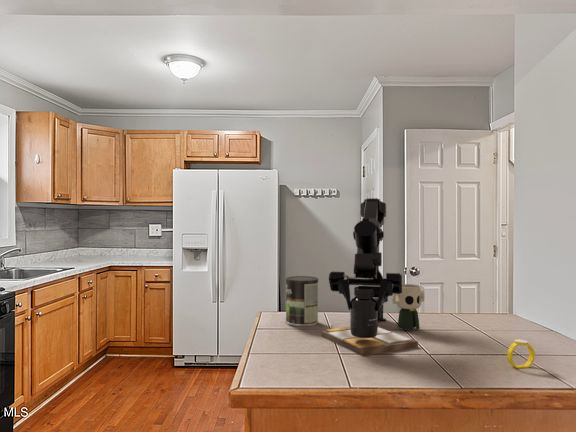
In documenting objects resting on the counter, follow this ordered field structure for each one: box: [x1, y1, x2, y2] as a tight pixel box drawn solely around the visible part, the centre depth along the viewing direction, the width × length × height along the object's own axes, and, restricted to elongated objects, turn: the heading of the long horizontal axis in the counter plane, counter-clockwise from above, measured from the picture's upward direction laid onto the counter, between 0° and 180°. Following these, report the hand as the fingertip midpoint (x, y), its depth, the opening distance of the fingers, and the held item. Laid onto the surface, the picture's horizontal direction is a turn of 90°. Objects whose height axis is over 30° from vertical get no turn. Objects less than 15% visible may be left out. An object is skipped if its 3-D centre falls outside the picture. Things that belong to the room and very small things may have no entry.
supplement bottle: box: [349, 286, 379, 338], centre depth 115 cm, size 7×7×12 cm
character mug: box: [391, 283, 425, 331], centre depth 134 cm, size 11×7×13 cm, turn 109°
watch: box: [506, 338, 536, 369], centre depth 100 cm, size 6×3×6 cm, turn 101°
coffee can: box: [285, 275, 319, 327], centre depth 143 cm, size 10×10×14 cm
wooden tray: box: [320, 326, 419, 357], centre depth 121 cm, size 17×20×2 cm
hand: (363, 309), depth 113 cm, fingers closed on supplement bottle, 7 cm apart
